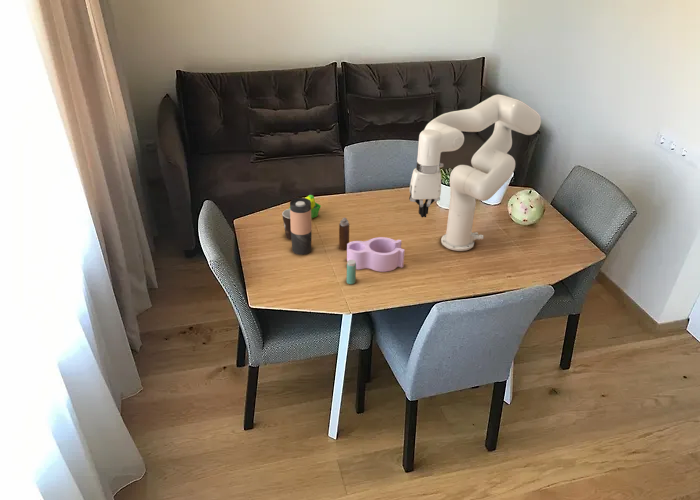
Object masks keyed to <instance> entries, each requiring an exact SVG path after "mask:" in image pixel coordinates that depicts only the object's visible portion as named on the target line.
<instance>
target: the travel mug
mask: <svg viewBox="0 0 700 500" xmlns="http://www.w3.org/2000/svg"><path fill="white" fill-rule="evenodd" d="M289 207H290V208H289V209H290V221H291V240H290V241H291V250H292V252H293V254H295V255H299V256H304V255H308V254H309V253H311V251H312V233H313V232H312V231H313V229H312V219H311V201H310V200H309V199H306V198H305V197H295V198H293V199H291V200H290V201H289Z"/></svg>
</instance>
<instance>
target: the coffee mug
mask: <svg viewBox="0 0 700 500" xmlns="http://www.w3.org/2000/svg"><path fill="white" fill-rule="evenodd" d="M281 216H282V221H283V222H282V223H283V227H284V232H285V238H286V239H287V240H290V241H292V240H291V221H290V208H287V209H284V210H283V211H282V212H281Z"/></svg>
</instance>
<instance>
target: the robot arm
mask: <svg viewBox="0 0 700 500" xmlns="http://www.w3.org/2000/svg"><path fill="white" fill-rule="evenodd" d="M493 124H494V128H493V132H492V134H491V135H490V136H489V138H488V139H487V140H486V141H485V142H484V143H483V144H482V145H481V147H479V149H478V150H477V151H476V152H475V153H473V155H472V157H471V160H470V163H471V166H470V165H467V164H458V165H457V166H455V167H454V168H453V169H452V170H451V172H450V174H449V191H450V197H449V205H448V216H447V221H446V232H445V234H443V235H442V236H441V239H440V242H441V245H442V246H443V247H444V248H446V249H448V250H451V251H455V252H465V251H468V250H471V249H472V248H474V246H475V241H483V240H484V234H479V232H473V226H474V219H475V211H476V205H477V204H476V203H477V201H481V202H486V201H488V200H491V198H492V197H494V195H495V194H496V193H497V192H498V191H499V190H500V189H501V188H502V187H503V186H504V185H505V184H506V182H508V181H509V180H510V178H511V177H512V175H513V173H514V172H515V168H516V160H515V158H514V157H513V156H512V154H511V155H510V154H509V151H510V150H511V149H512V145H513V138H512V131H514V132H516V133H520V134H523V135H526V136H532V135H534V134H536V133H537V132H538V131H539V129H540V127H541V124H542V118H541V115H540V114H539V113H538V111H536V110H535V109H534V108H532V107H530V106H529V105H528V104H526V103H525V102H524V101H522V100H519V99H517V98H514V97H511V96H508V95H504V94H493V95H491V96H490V97H487V98H486V99H485V100H483V101H481V102H480V103H478V104H476V105H474V106H472V107H471V108H467V109H460V110H459V109H458V110H454V111H449V112H444V113H442V114H440V115H438V116H437V117H435V118H433V119H432V120H430V121H429V122H428V123H427V124H426V125H425V127H424V129H423V130H422V131H421V132H419V135H418V145H417V156H416V167H415V168H414V169H413V171H412V174H411V179H410V183H409V198H408V200H409V202H413V203H416V204H417V205H418V215H420V218H427V215H428V214H429V207H431V205H432V204H433V203H434V202H439V201H441V194H442V172H441V168H444V167H445V166H444V163H442V162H441V156H442V155H441V154H442V153H445V152H447V153H448V152H455V151H457V150H459V149H460V148H461V147H462V146H463V145H464V142H465V135H464V133H465V132H466V133H477V132H478V133H479V132H481V131H484V130H486V129H487V128H489V127H490V126H492V125H493ZM463 132H464V133H463ZM476 200H477V201H476Z"/></svg>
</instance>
